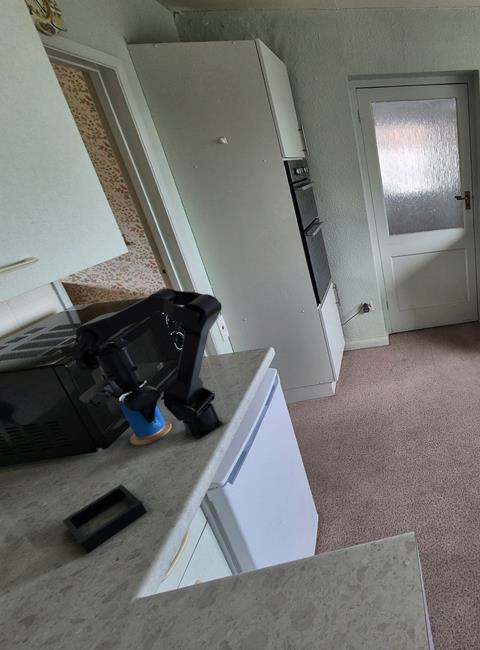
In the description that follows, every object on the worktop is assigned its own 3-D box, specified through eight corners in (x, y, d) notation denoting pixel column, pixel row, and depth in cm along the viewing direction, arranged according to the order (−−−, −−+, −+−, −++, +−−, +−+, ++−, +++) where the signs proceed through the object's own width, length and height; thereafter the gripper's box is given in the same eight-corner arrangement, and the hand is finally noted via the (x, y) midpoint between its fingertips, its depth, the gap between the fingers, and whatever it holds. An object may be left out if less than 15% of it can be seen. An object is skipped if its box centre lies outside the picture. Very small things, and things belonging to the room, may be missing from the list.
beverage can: (150, 441, 98) (130, 403, 93) (130, 438, 99) (110, 401, 95) (172, 423, 104) (154, 387, 99) (153, 422, 105) (134, 386, 100)
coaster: (162, 418, 107) (161, 416, 107) (178, 427, 103) (177, 426, 103) (124, 438, 101) (123, 437, 100) (139, 450, 96) (138, 448, 96)
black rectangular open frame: (127, 493, 83) (121, 484, 82) (147, 512, 79) (141, 502, 77) (69, 530, 76) (62, 520, 75) (87, 553, 71) (80, 543, 70)
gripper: (61, 374, 92) (91, 425, 98) (90, 394, 82) (121, 449, 89) (116, 352, 100) (141, 400, 107) (148, 368, 91) (173, 420, 97)
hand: (143, 416), depth 100 cm, fingers open, 9 cm apart
